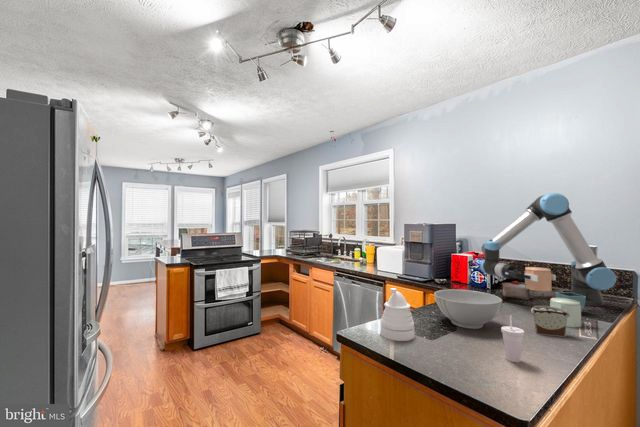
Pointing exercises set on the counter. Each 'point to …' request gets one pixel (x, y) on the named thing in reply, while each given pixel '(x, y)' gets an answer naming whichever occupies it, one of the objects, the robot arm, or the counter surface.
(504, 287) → the food item
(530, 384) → the counter surface
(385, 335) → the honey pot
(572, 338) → the counter surface
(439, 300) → the decorative bowl
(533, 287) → the octagonal lidded jar
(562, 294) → the flower pot
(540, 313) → the food container
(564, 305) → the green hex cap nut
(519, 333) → the smoothie
